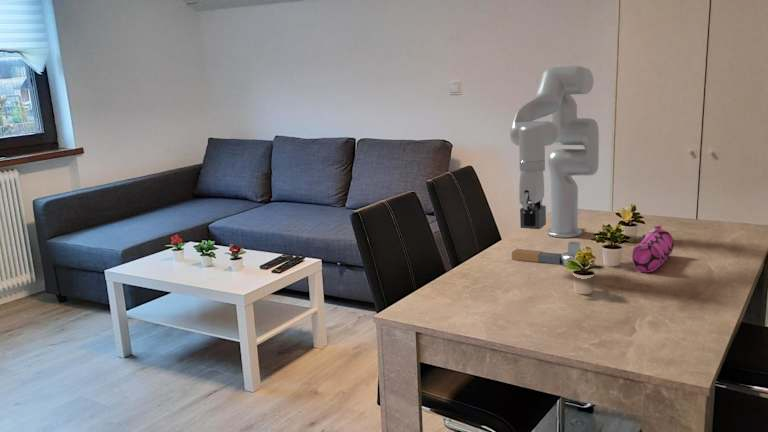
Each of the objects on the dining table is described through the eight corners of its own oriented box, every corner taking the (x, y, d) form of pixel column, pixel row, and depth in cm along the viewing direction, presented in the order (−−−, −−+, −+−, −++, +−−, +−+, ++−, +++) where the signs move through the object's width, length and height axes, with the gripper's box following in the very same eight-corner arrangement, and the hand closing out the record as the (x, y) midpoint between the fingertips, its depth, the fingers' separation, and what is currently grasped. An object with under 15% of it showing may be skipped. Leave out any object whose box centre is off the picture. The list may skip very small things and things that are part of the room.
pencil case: (641, 253, 216) (642, 223, 214) (673, 256, 211) (675, 225, 209) (628, 272, 198) (629, 240, 196) (662, 275, 193) (664, 243, 191)
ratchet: (510, 261, 217) (509, 240, 215) (518, 254, 223) (518, 234, 221) (582, 268, 204) (582, 247, 203) (589, 262, 210) (589, 241, 209)
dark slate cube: (527, 223, 208) (527, 204, 207) (545, 224, 205) (545, 205, 204) (520, 227, 203) (520, 208, 202) (539, 229, 200) (539, 210, 199)
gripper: (530, 160, 209) (531, 215, 213) (509, 170, 195) (511, 229, 199) (553, 161, 205) (554, 217, 209) (534, 171, 191) (535, 231, 195)
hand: (533, 222), depth 204 cm, fingers closed on dark slate cube, 6 cm apart
